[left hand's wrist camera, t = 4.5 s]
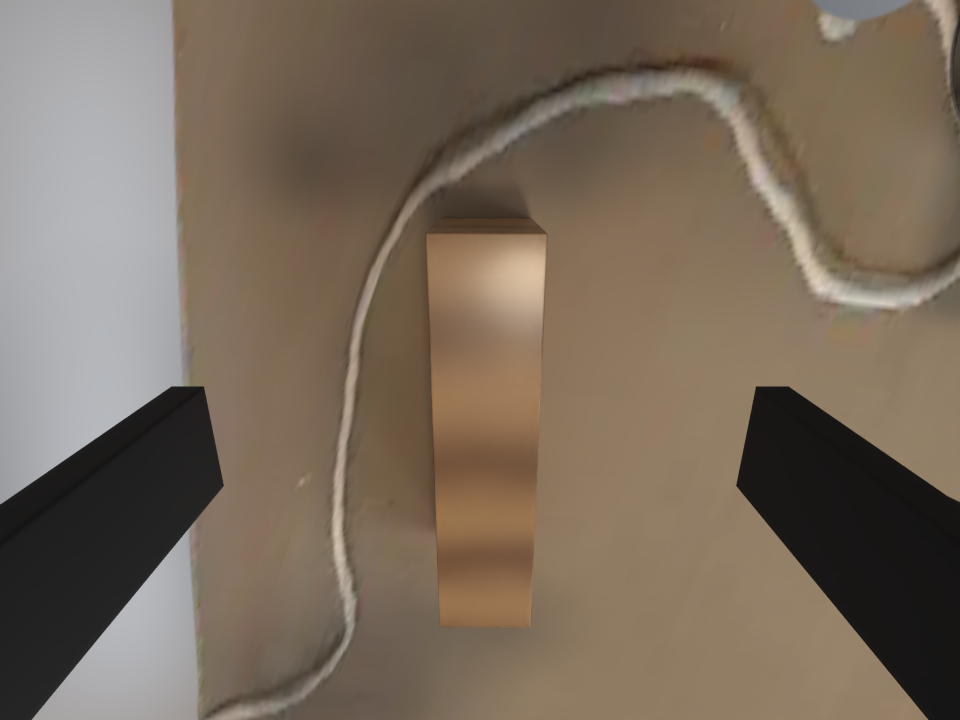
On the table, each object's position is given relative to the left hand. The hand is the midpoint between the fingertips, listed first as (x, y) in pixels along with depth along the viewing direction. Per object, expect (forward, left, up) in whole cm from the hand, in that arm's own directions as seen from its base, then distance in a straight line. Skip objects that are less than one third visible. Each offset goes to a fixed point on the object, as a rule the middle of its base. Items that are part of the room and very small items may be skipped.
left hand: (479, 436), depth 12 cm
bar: (+9, +3, -24) cm, 25 cm away
